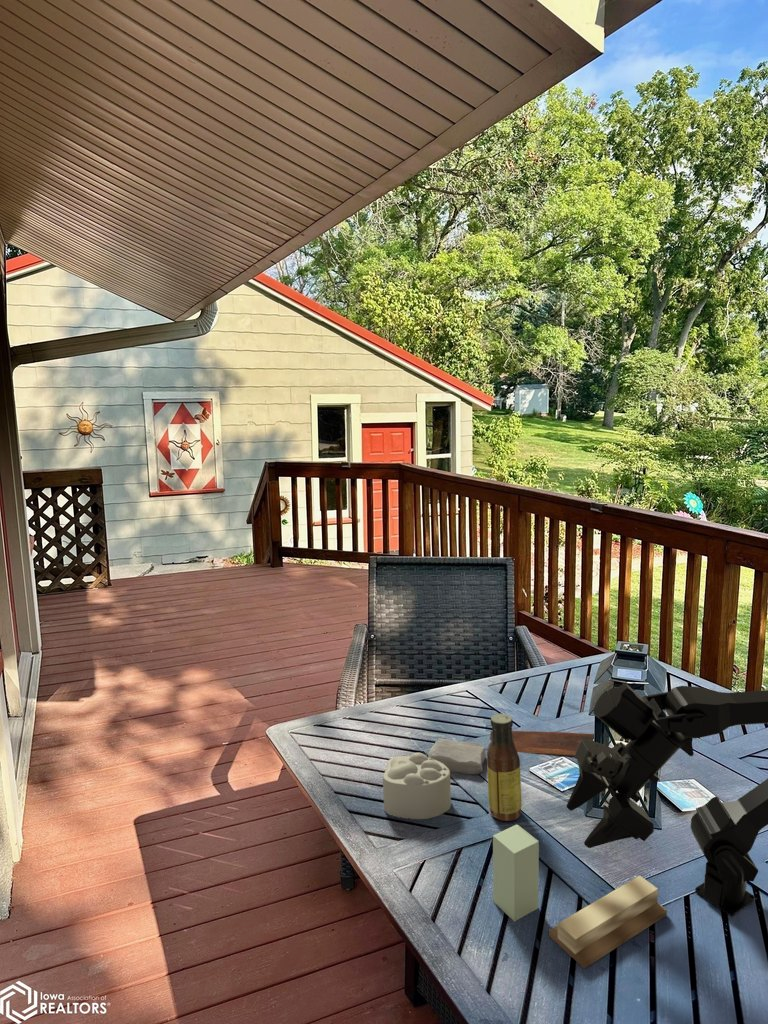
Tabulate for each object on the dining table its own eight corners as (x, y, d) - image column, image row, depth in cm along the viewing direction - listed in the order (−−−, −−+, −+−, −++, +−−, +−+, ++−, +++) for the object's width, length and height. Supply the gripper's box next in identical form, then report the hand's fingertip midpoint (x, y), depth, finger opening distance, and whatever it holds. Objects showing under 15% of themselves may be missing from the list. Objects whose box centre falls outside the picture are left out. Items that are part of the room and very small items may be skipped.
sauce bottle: (526, 809, 135) (527, 715, 131) (513, 827, 130) (513, 730, 126) (495, 799, 138) (495, 707, 134) (481, 815, 133) (480, 721, 129)
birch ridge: (629, 887, 114) (630, 869, 113) (666, 915, 108) (667, 895, 107) (549, 935, 105) (549, 915, 104) (584, 968, 99) (584, 947, 98)
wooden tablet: (488, 746, 156) (490, 720, 165) (488, 755, 157) (490, 728, 166) (611, 757, 150) (606, 729, 160) (610, 765, 151) (606, 737, 160)
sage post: (516, 888, 114) (516, 824, 112) (538, 908, 110) (538, 841, 108) (493, 901, 112) (492, 835, 109) (514, 921, 108) (514, 853, 105)
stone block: (436, 755, 159) (425, 770, 149) (437, 734, 159) (427, 748, 149) (487, 763, 155) (480, 780, 146) (489, 742, 155) (482, 757, 146)
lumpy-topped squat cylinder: (390, 785, 144) (389, 747, 143) (452, 789, 142) (452, 751, 140) (381, 816, 134) (379, 776, 133) (448, 822, 132) (447, 781, 130)
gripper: (586, 698, 115) (525, 765, 117) (629, 758, 97) (555, 837, 99) (635, 736, 117) (573, 801, 119) (686, 802, 98) (612, 879, 100)
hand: (577, 826), depth 109 cm, fingers open, 9 cm apart
